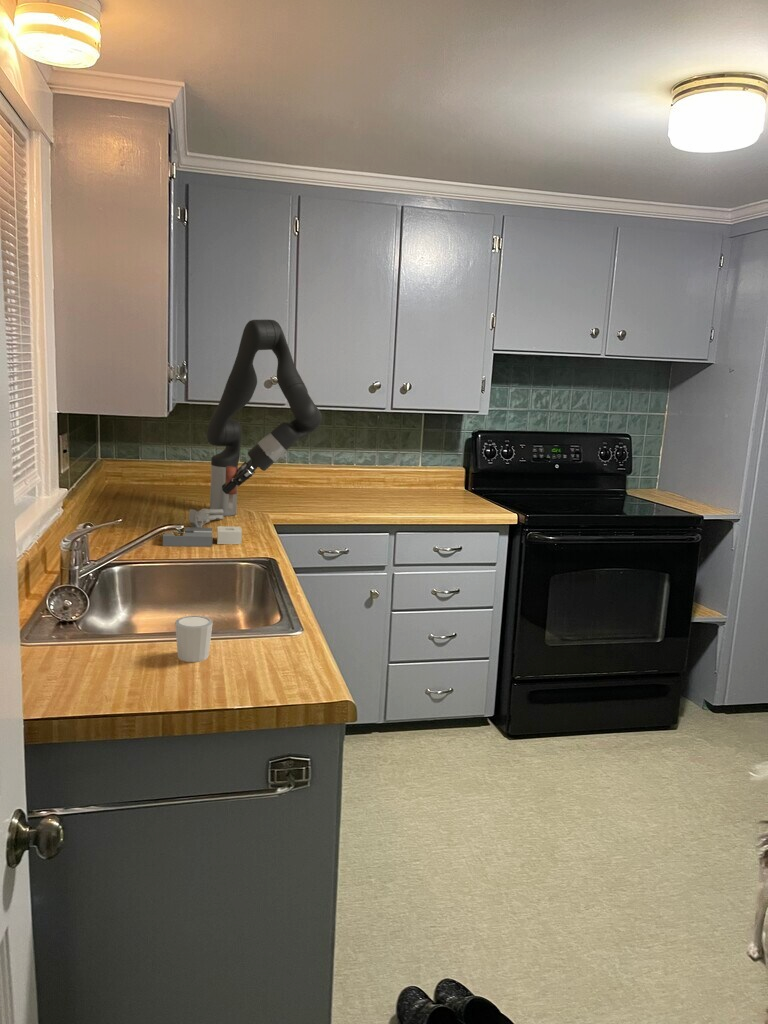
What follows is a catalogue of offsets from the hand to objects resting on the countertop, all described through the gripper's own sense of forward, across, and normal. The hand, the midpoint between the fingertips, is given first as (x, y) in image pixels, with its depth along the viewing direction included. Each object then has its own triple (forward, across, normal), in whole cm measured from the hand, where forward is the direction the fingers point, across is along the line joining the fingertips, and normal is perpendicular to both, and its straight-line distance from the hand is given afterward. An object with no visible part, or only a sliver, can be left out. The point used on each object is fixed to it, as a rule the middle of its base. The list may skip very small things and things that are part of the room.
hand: (224, 490), depth 229 cm
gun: (+15, -19, +8) cm, 25 cm away
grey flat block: (+18, 0, +4) cm, 19 cm away
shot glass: (+16, +89, +6) cm, 91 cm away
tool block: (+10, 0, +13) cm, 16 cm away
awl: (+3, 0, +6) cm, 6 cm away
